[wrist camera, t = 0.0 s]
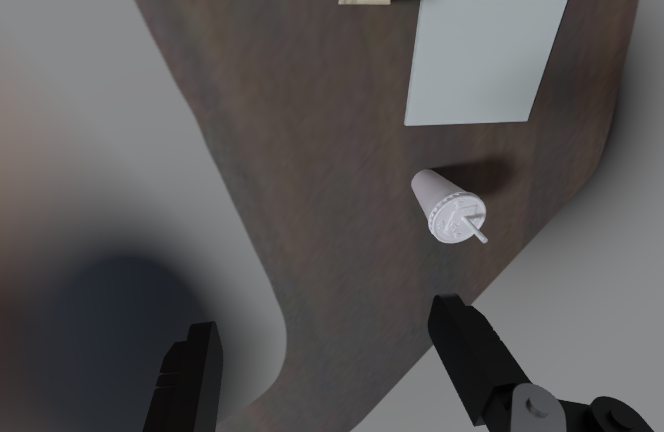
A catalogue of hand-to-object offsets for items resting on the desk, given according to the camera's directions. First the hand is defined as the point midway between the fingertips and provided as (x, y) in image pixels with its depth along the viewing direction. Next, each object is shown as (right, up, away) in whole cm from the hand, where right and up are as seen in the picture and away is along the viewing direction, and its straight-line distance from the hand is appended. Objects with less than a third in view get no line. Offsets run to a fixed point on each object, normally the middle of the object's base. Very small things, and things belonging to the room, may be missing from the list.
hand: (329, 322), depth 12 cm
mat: (+17, +24, +23) cm, 37 cm away
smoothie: (+13, +9, +33) cm, 36 cm away
